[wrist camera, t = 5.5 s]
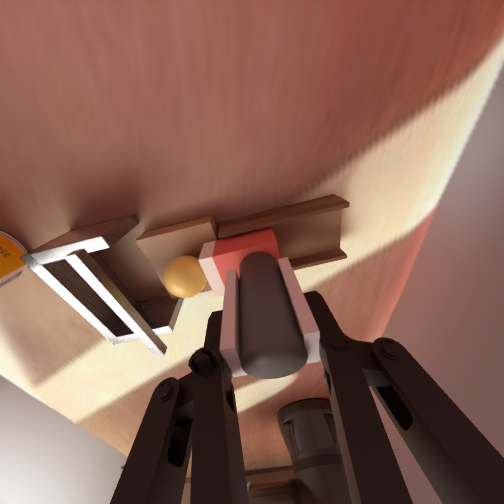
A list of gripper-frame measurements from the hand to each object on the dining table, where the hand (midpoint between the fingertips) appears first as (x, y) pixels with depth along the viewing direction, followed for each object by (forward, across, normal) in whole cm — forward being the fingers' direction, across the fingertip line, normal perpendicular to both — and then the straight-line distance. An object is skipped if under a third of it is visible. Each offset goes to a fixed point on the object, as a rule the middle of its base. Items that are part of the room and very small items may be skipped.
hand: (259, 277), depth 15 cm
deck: (+7, +7, 0) cm, 10 cm away
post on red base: (+4, +1, 0) cm, 4 cm away
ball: (+3, +7, 0) cm, 7 cm away
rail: (+7, -3, 0) cm, 7 cm away
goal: (+7, +14, 0) cm, 16 cm away
